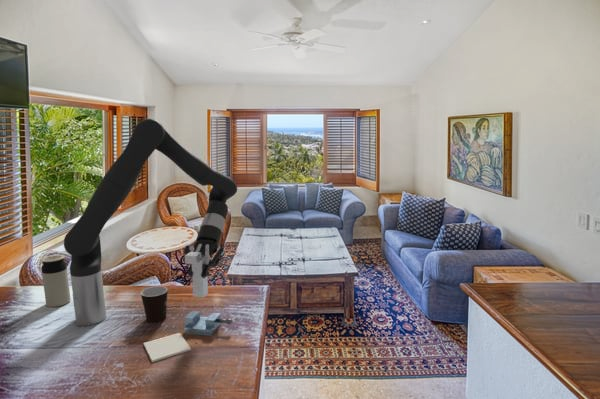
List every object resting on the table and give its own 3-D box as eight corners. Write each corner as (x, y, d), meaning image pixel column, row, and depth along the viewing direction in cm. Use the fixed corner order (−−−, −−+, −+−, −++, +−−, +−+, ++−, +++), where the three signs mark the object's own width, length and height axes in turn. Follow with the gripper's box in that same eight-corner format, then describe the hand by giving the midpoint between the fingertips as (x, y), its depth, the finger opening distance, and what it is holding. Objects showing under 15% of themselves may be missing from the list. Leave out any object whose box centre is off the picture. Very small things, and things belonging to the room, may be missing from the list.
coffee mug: (161, 325, 132) (158, 297, 130) (138, 323, 133) (135, 295, 132) (178, 310, 143) (176, 283, 141) (156, 308, 145) (154, 282, 143)
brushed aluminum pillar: (198, 292, 130) (196, 248, 127) (208, 293, 129) (206, 248, 126) (187, 302, 122) (184, 255, 120) (197, 302, 122) (195, 256, 119)
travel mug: (74, 301, 151) (69, 256, 148) (52, 309, 145) (46, 262, 141) (64, 296, 155) (58, 253, 152) (42, 304, 149) (35, 258, 146)
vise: (194, 321, 134) (193, 308, 134) (237, 325, 131) (236, 312, 130) (182, 333, 127) (181, 319, 126) (227, 337, 124) (227, 324, 123)
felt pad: (152, 362, 111) (151, 360, 111) (143, 344, 120) (143, 343, 120) (190, 350, 117) (190, 348, 117) (179, 334, 126) (179, 332, 126)
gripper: (188, 222, 132) (171, 270, 123) (227, 224, 129) (214, 273, 120) (196, 234, 138) (181, 279, 129) (234, 236, 135) (221, 283, 126)
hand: (197, 276), depth 124 cm, fingers closed on brushed aluminum pillar, 3 cm apart
